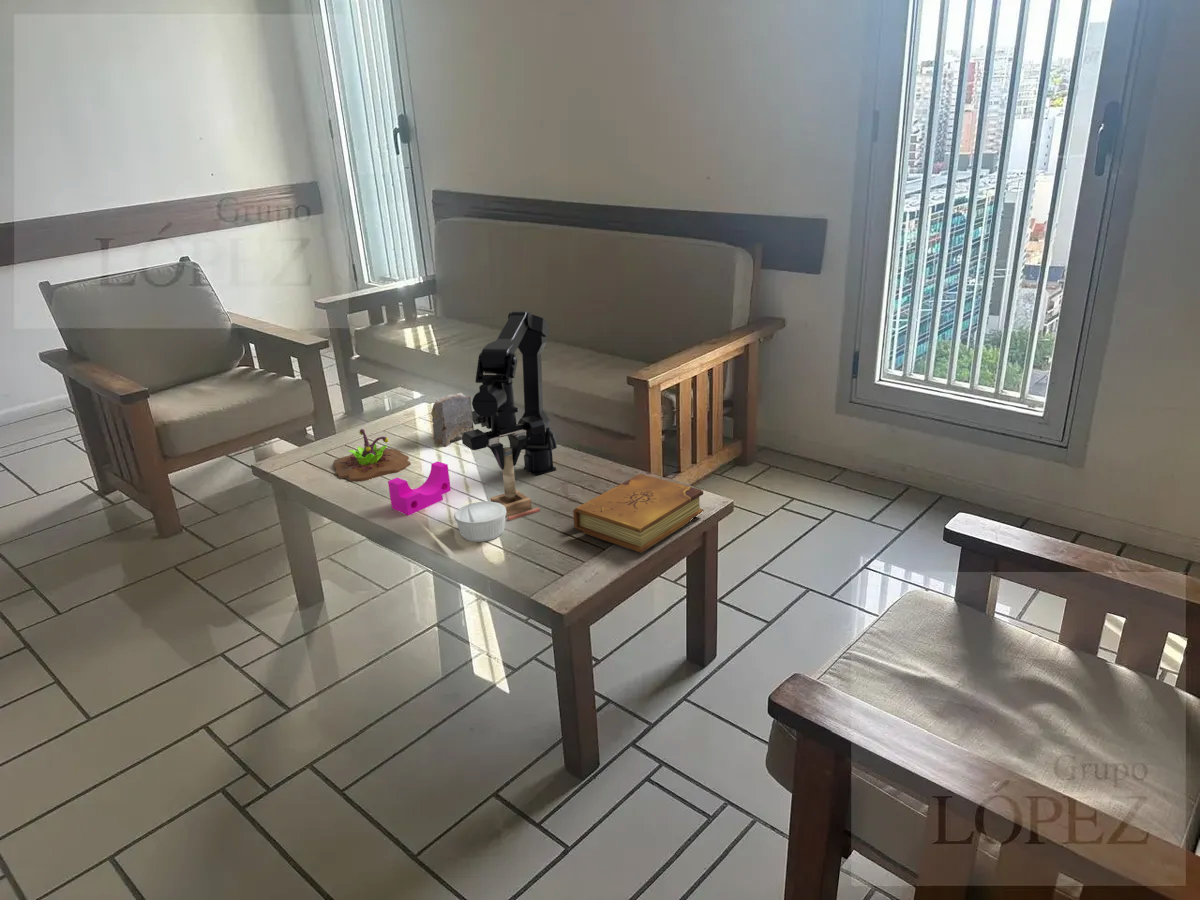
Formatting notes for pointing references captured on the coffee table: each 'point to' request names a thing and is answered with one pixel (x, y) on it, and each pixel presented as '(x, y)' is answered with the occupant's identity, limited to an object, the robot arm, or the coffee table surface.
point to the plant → (370, 461)
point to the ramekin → (481, 521)
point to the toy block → (420, 490)
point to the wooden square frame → (515, 505)
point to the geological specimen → (451, 418)
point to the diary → (638, 512)
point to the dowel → (508, 473)
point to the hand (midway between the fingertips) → (507, 467)
